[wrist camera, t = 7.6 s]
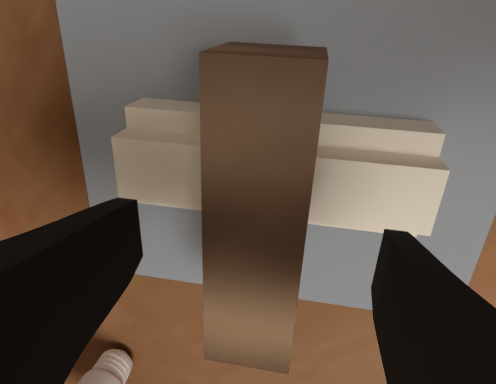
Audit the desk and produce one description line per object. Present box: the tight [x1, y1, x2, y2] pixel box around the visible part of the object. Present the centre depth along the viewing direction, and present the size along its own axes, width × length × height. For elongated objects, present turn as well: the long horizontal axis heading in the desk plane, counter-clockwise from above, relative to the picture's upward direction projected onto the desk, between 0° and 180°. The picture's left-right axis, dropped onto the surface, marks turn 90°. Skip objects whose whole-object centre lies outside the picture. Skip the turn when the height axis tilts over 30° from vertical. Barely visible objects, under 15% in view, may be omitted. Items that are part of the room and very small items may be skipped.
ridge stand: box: [55, 0, 496, 310], centre depth 18 cm, size 22×18×4 cm
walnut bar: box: [199, 42, 329, 374], centre depth 14 cm, size 12×4×4 cm, turn 178°
